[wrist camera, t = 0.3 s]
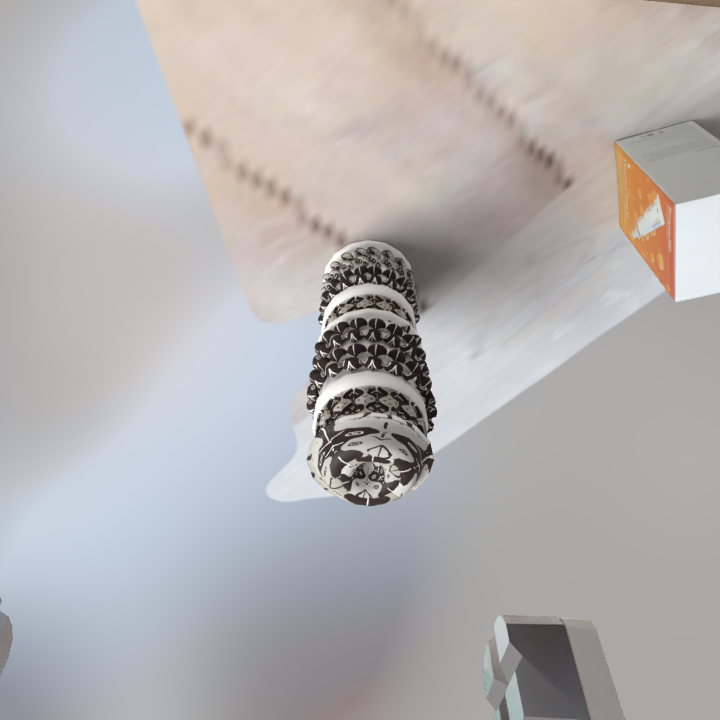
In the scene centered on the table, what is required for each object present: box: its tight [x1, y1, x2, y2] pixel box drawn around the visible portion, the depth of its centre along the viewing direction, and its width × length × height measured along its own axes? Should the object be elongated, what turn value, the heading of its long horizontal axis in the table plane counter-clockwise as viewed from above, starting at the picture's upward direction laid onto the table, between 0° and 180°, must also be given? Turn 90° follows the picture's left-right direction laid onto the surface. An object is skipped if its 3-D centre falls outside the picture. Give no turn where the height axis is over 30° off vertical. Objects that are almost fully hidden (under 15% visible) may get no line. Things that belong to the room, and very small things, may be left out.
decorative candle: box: [307, 240, 437, 506], centre depth 50 cm, size 9×9×25 cm
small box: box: [614, 121, 720, 302], centre depth 49 cm, size 8×6×13 cm
